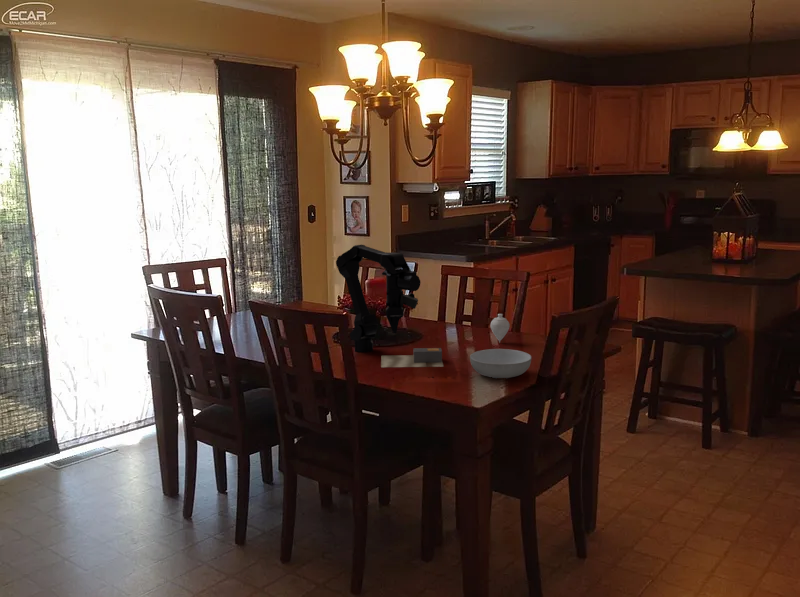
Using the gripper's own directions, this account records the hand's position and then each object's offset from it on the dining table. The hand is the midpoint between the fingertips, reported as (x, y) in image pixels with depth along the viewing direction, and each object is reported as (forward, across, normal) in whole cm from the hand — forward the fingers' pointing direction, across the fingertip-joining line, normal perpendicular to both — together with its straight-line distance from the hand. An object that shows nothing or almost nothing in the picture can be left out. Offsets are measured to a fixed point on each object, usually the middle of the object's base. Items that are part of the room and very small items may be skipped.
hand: (394, 330), depth 264 cm
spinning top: (+12, +28, -43) cm, 53 cm away
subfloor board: (+12, -4, -6) cm, 14 cm away
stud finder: (+10, -4, -12) cm, 16 cm away
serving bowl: (+12, -18, -36) cm, 42 cm away
